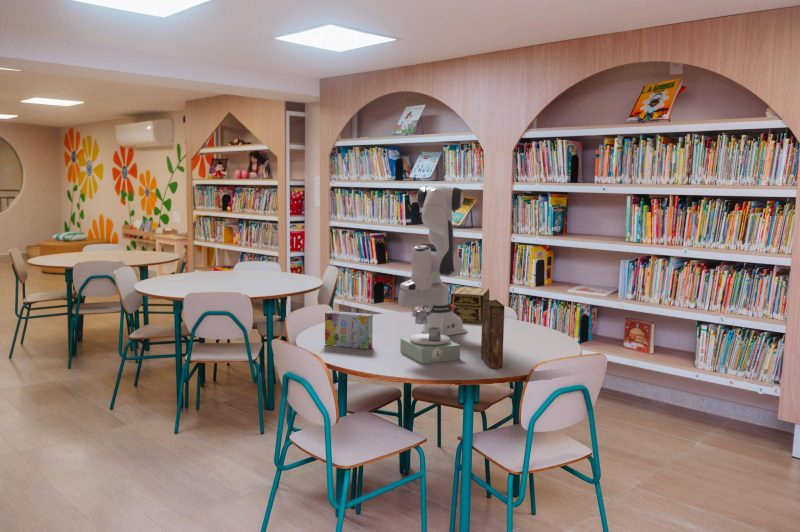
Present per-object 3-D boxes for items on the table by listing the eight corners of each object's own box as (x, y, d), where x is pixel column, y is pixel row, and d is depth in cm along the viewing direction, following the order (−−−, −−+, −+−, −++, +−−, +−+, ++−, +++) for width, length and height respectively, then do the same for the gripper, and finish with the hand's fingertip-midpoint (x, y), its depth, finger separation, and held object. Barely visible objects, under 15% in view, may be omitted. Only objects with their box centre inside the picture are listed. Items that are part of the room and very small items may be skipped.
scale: (436, 348, 284) (437, 331, 283) (460, 359, 265) (461, 342, 264) (400, 351, 276) (400, 334, 275) (422, 364, 258) (422, 346, 257)
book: (503, 368, 253) (505, 306, 250) (489, 368, 253) (491, 306, 250) (493, 357, 269) (495, 299, 266) (480, 357, 269) (482, 299, 266)
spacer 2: (437, 338, 270) (437, 326, 269) (442, 341, 266) (443, 329, 265) (426, 339, 268) (426, 327, 267) (432, 342, 263) (432, 330, 263)
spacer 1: (423, 321, 276) (423, 309, 275) (429, 323, 272) (429, 311, 271) (413, 322, 274) (413, 310, 273) (418, 324, 270) (418, 312, 269)
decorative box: (457, 311, 368) (458, 286, 367) (490, 314, 363) (491, 288, 362) (448, 321, 342) (449, 293, 340) (483, 323, 337) (483, 295, 335)
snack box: (372, 347, 284) (373, 313, 283) (368, 350, 279) (368, 316, 277) (329, 342, 291) (329, 310, 289) (324, 345, 286) (324, 312, 284)
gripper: (439, 281, 278) (439, 312, 280) (396, 284, 269) (396, 316, 271) (446, 283, 272) (446, 315, 274) (402, 286, 264) (402, 319, 265)
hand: (421, 316), depth 272 cm, fingers closed on spacer 1, 5 cm apart
